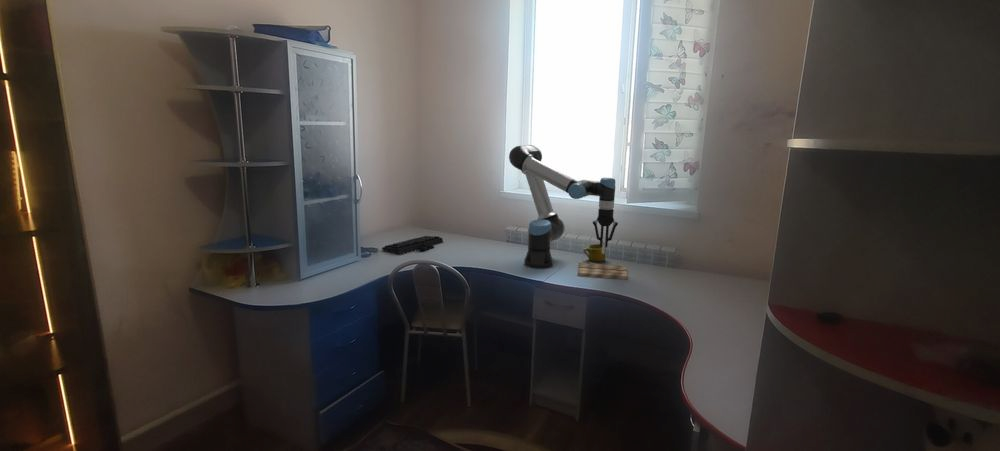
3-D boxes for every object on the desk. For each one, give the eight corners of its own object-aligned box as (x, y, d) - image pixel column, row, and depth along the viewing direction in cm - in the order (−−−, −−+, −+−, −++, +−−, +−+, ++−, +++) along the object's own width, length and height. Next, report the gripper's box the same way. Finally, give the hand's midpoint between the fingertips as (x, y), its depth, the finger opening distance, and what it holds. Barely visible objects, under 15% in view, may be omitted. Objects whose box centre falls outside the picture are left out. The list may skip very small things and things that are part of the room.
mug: (606, 254, 270) (604, 239, 265) (608, 264, 261) (605, 249, 256) (584, 256, 272) (582, 242, 267) (585, 267, 263) (583, 252, 258)
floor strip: (577, 275, 237) (577, 272, 237) (578, 270, 246) (578, 267, 245) (627, 279, 233) (627, 276, 232) (626, 273, 242) (626, 270, 241)
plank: (578, 269, 246) (578, 266, 246) (578, 265, 253) (578, 262, 253) (625, 273, 242) (626, 270, 242) (625, 268, 249) (625, 265, 249)
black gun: (424, 239, 305) (424, 232, 304) (451, 244, 293) (450, 237, 292) (380, 251, 275) (380, 243, 274) (407, 258, 263) (407, 249, 262)
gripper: (593, 209, 240) (590, 254, 245) (619, 210, 238) (616, 255, 243) (593, 206, 248) (590, 250, 253) (618, 207, 245) (615, 252, 250)
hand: (603, 253), depth 248 cm, fingers closed
